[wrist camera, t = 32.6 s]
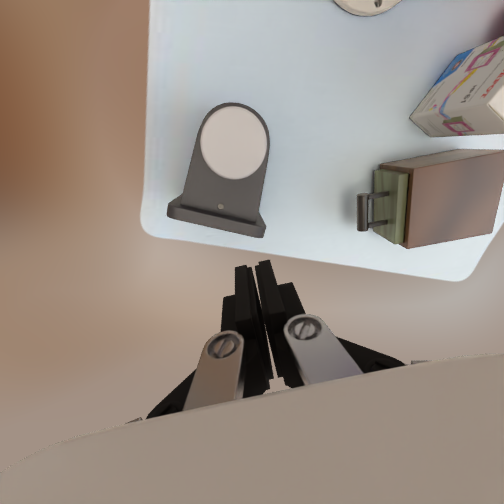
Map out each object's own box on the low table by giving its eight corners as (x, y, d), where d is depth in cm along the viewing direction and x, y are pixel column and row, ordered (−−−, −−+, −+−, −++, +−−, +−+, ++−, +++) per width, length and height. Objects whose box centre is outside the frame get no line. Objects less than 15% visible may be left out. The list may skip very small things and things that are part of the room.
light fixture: (278, 130, 33) (299, 117, 23) (254, 223, 38) (262, 246, 27) (198, 106, 32) (183, 80, 22) (182, 206, 36) (162, 224, 26)
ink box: (456, 51, 31) (577, 0, 20) (480, 77, 32) (606, 43, 21) (406, 117, 33) (489, 104, 22) (431, 139, 35) (520, 136, 24)
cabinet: (377, 231, 40) (407, 249, 33) (379, 164, 35) (413, 168, 29) (448, 218, 40) (492, 233, 33) (458, 148, 35) (511, 149, 29)
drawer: (347, 236, 39) (364, 250, 33) (345, 175, 35) (365, 181, 30) (438, 218, 39) (470, 230, 33) (447, 156, 35) (484, 158, 30)
